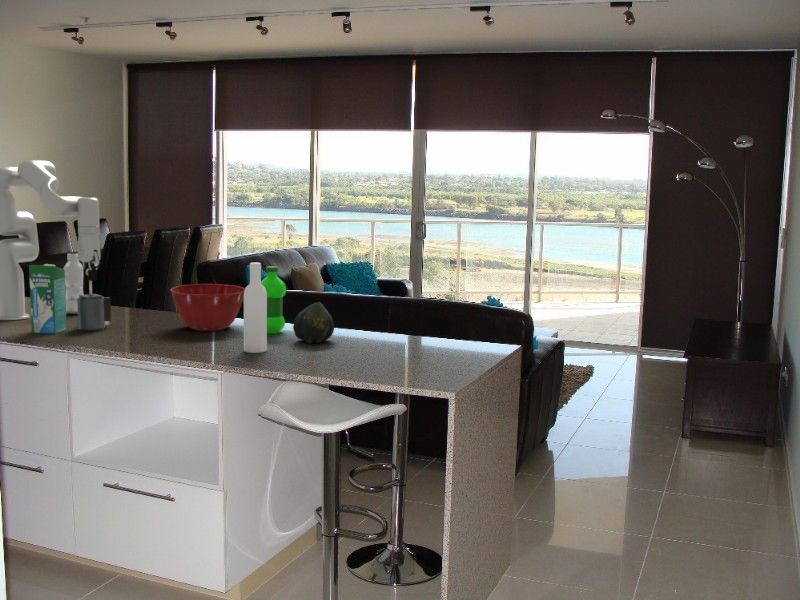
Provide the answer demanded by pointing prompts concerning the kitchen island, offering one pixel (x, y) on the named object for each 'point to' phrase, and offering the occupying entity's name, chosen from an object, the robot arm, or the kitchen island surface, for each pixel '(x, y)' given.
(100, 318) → the carafe
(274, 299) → the plastic bottle
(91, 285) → the plunger
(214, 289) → the mixing bowl
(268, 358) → the kitchen island surface
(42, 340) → the kitchen island surface
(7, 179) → the robot arm
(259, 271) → the bottle
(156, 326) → the kitchen island surface
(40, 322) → the milk carton
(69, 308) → the plastic bottle
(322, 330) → the squash
